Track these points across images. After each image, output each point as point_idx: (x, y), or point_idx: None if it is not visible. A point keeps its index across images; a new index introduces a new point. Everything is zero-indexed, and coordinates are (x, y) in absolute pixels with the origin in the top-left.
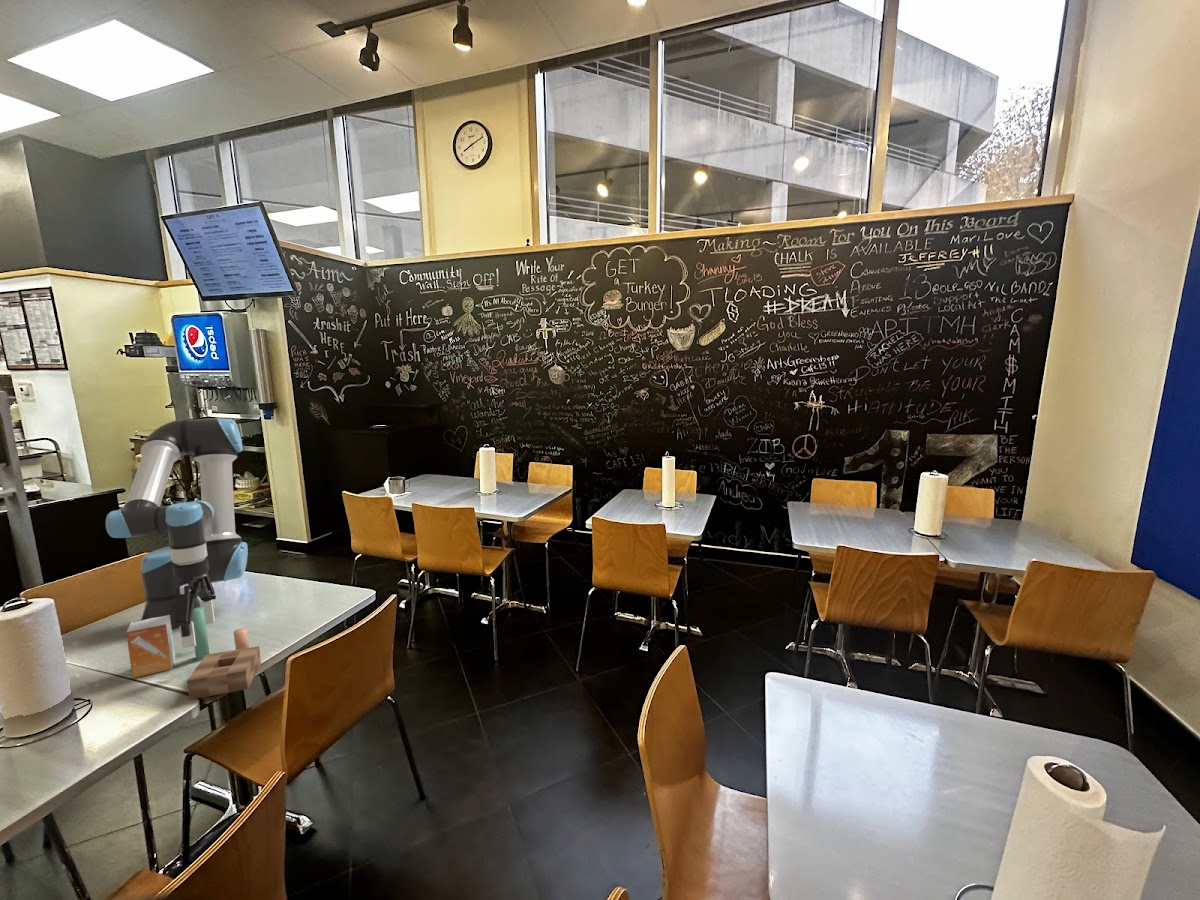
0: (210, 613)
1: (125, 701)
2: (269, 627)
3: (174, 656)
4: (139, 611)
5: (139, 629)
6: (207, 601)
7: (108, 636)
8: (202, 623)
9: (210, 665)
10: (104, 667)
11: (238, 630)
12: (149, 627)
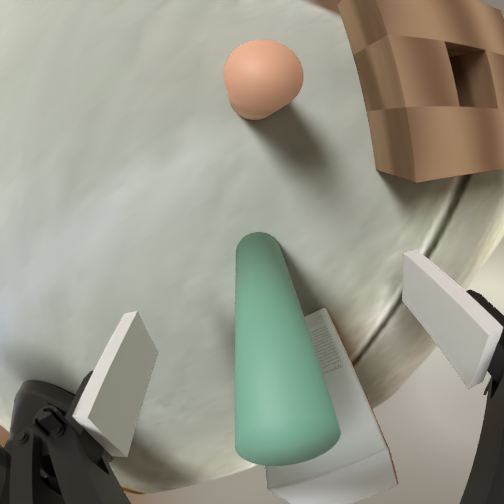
0: (123, 360)
1: None
2: (43, 128)
3: None
4: None
5: (394, 476)
6: (95, 433)
7: (151, 470)
8: (293, 330)
9: (486, 123)
10: None
11: (256, 87)
12: (391, 468)
